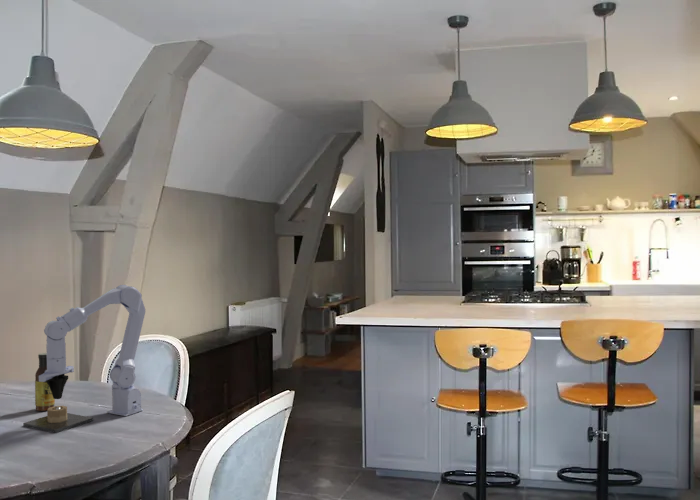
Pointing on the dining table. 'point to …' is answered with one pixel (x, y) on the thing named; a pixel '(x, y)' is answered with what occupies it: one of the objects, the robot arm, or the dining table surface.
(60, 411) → the ring
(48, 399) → the sauce bottle
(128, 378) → the robot arm
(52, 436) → the dining table surface
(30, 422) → the hub
